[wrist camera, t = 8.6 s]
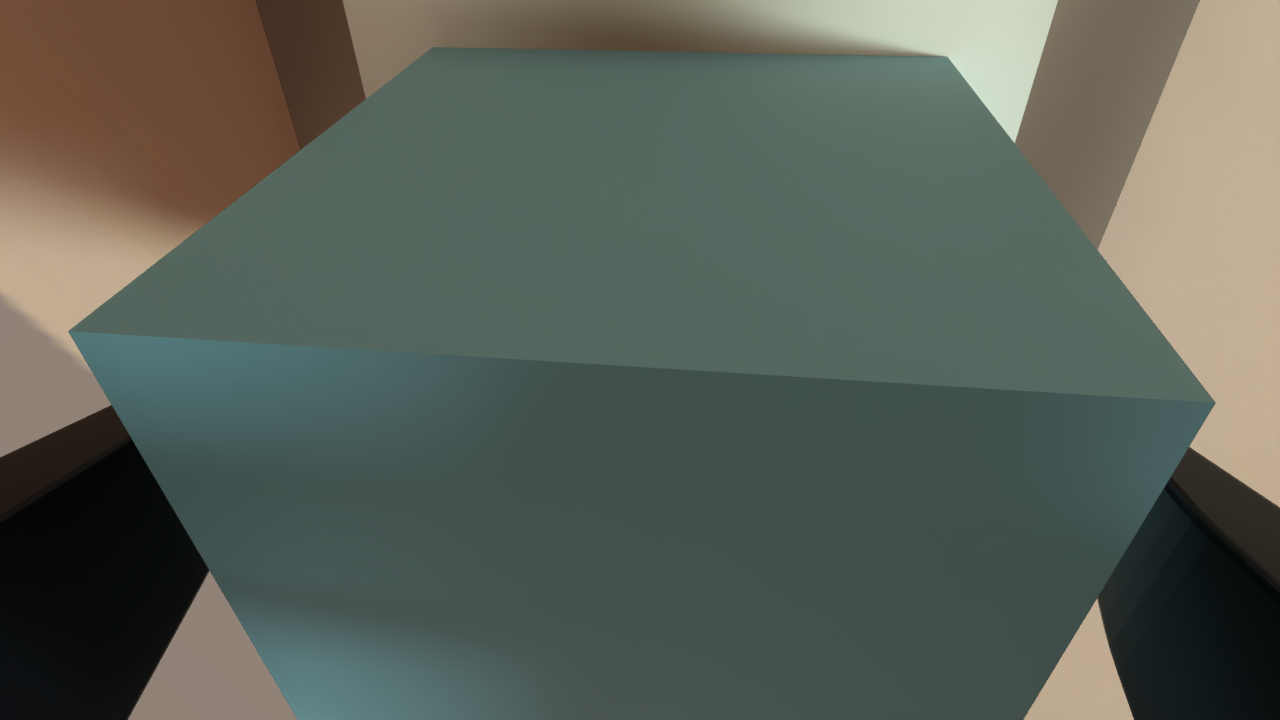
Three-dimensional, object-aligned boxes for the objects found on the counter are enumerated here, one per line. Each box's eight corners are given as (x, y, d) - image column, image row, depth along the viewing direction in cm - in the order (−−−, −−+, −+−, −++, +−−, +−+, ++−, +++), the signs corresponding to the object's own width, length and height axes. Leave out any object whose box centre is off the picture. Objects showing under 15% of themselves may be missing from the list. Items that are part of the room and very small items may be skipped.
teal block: (946, 56, 8) (1216, 404, 4) (857, 443, 12) (930, 872, 7) (432, 47, 9) (67, 331, 4) (497, 418, 12) (343, 797, 8)
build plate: (1312, -394, 9) (1641, -507, 5) (985, 461, 17) (1039, 612, 14) (194, -348, 10) (-62, -416, 7) (406, 420, 18) (335, 548, 15)
